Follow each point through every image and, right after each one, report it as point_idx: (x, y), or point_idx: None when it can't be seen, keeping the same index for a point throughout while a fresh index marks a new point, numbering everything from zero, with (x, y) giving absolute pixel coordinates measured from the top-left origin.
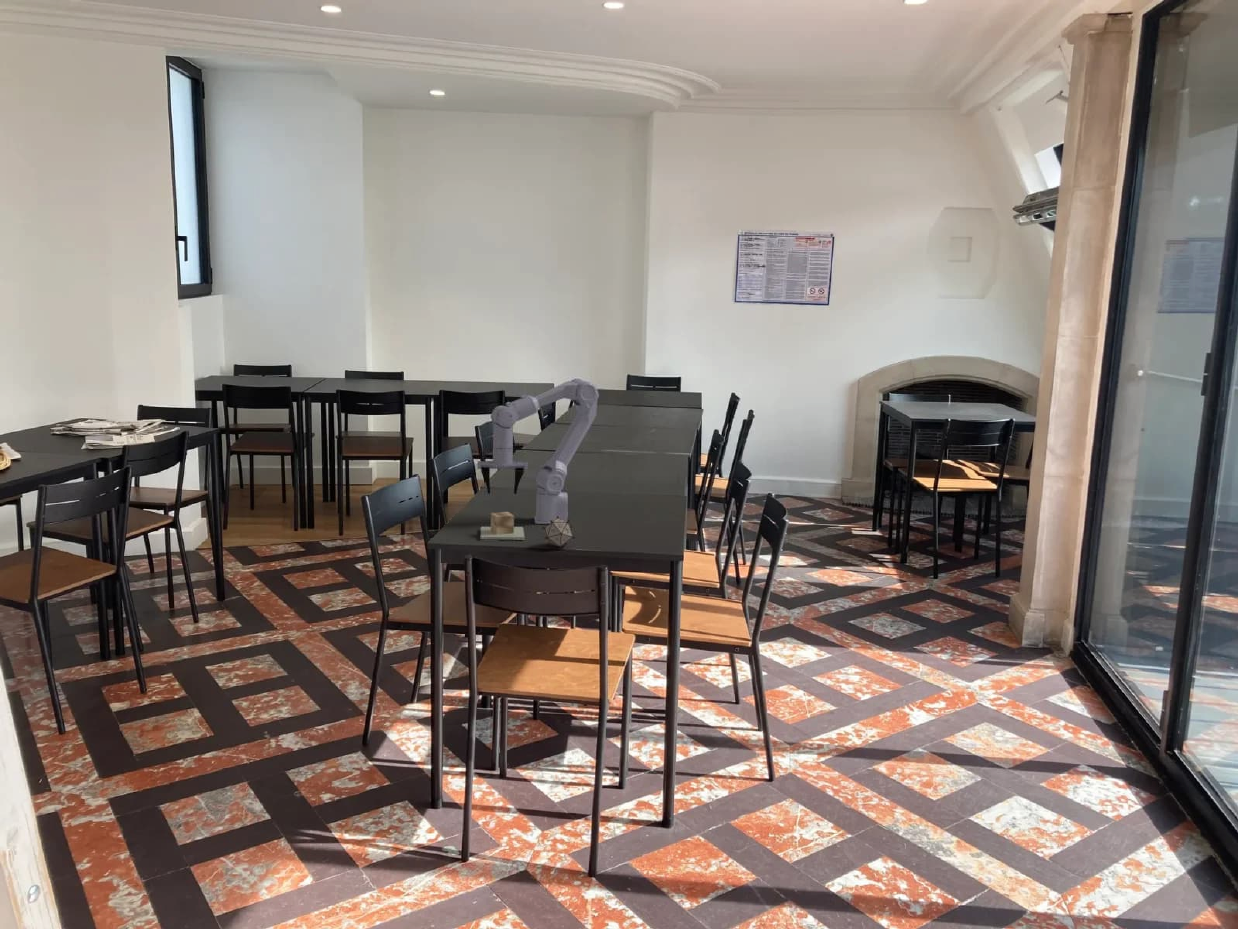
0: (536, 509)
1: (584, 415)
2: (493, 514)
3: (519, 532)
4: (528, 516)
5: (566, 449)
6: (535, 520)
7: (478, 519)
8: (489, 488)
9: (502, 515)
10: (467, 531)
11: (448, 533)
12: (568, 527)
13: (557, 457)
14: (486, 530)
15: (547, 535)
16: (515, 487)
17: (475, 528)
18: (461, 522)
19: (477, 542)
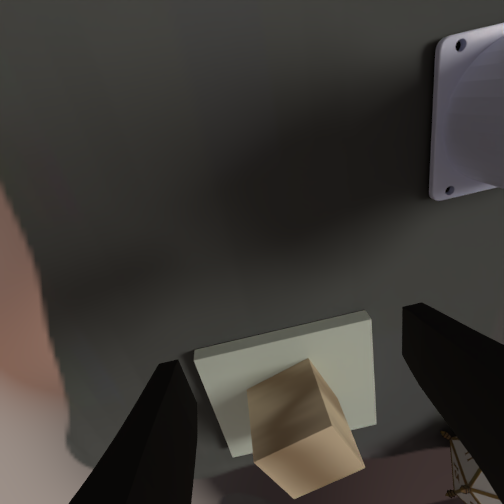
0: (489, 140)
1: None
2: (271, 476)
3: (358, 386)
4: (398, 4)
5: None
6: (436, 163)
7: (109, 171)
8: (190, 459)
9: (313, 476)
10: (148, 375)
11: (90, 412)
12: None
13: None
14: (231, 396)
15: (460, 498)
16: (451, 416)
17: (162, 331)
18: (50, 256)
19: (227, 459)
